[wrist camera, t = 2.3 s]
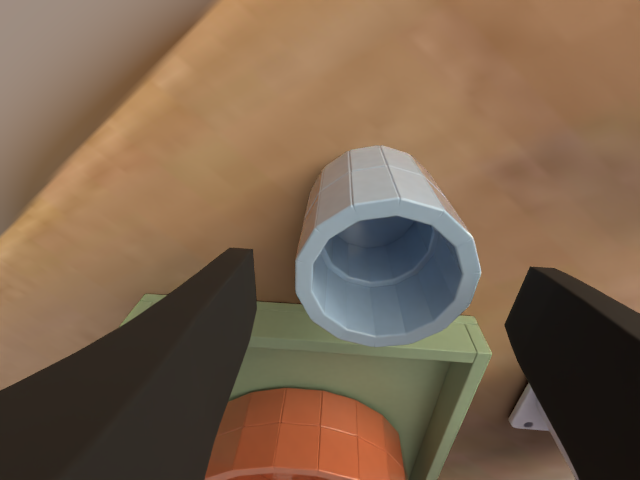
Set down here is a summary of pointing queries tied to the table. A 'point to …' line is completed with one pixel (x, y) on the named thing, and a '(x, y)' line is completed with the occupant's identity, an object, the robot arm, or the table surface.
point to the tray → (369, 375)
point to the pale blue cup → (383, 251)
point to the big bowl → (304, 439)
